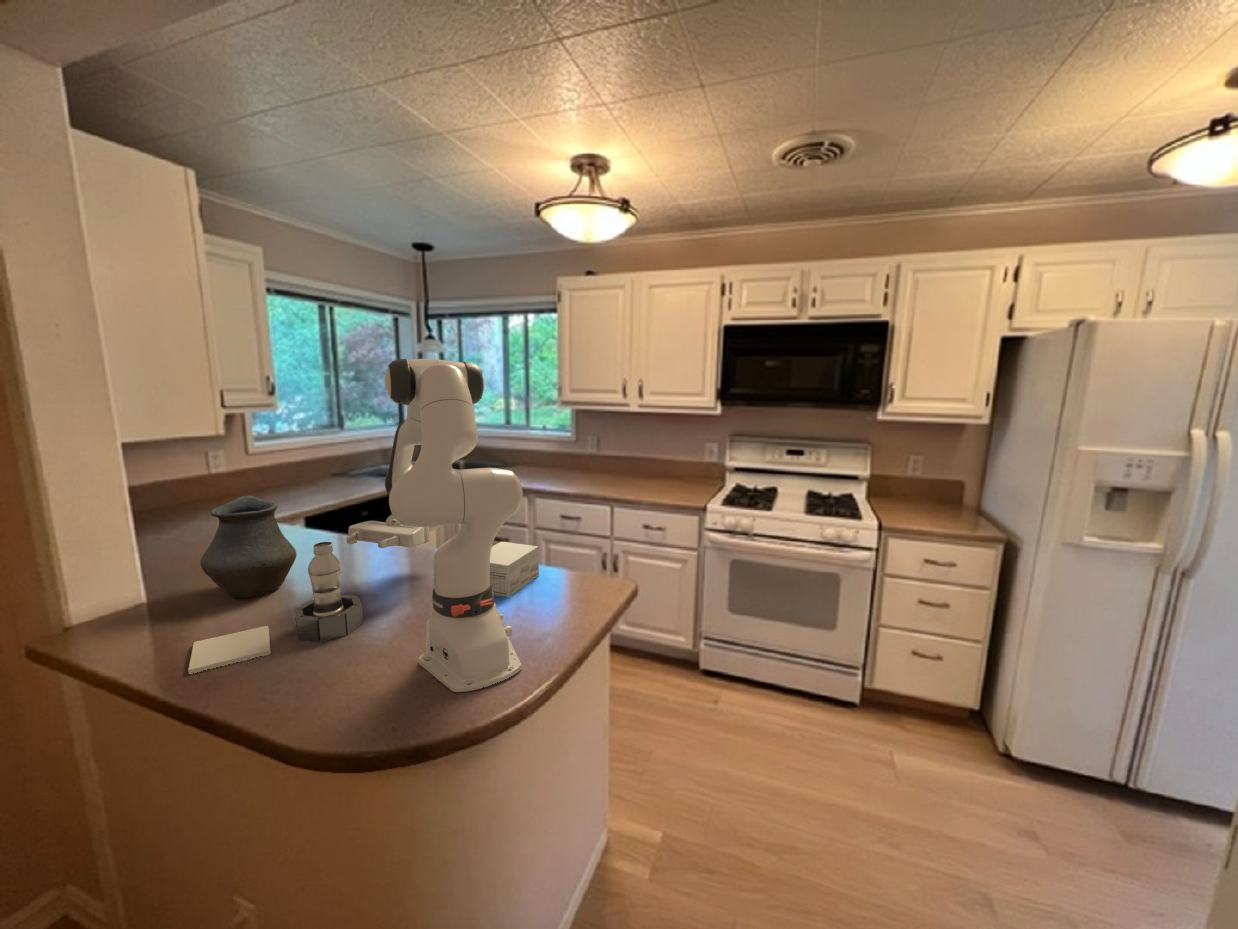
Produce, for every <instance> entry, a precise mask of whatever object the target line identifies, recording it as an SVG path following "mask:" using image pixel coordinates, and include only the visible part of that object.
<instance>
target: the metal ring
mask: <svg viewBox="0 0 1238 929" xmlns="http://www.w3.org/2000/svg"><path fill="white" fill-rule="evenodd" d="M341 599H342V604H343V607H344V610H345V611H343V612H341V613H337V614H332V615H328V616H324V617H313V610H314V598H313V599H310V600H308V601H306V602H305V603H303V604H302V605H300V606H298V607H296V608H295V609H293V612H294V615H293V616H294V625H295V626H294V627H295V634H296V638H297V640H298V641H308V642H315V643H319V642H325V641H329V640H332V639H338V638H340V637H345V636H347V635H350V634H351V633H353V632H354V631H355V630H356V629H358V628H359V627H361V626H362V625H363V624H364V623H363V622H364V620H363V619H364V618H363V608H362V607H363V606H362V602H361V600H360V598H359V596H358V595H350V594H341Z"/></svg>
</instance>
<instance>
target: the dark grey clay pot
mask: <svg viewBox="0 0 1238 929" xmlns="http://www.w3.org/2000/svg"><path fill="white" fill-rule="evenodd" d="M277 509H278V503H277V501H276V502H275V501H273V500H264V499H261V498H258V497H257V496H254V495H244V496H239V497H237V498H235V499H233V500H231V501H229V502H227V503H225V504H222V505H220V506H218V507H214V508H213V509H211V510H210V515H211V517H215V518H217V519H218V526H217V529H216V532H215V534H214V537H213V540H212V541H211V543H210V544H209V546H208V547H207V548H206V550H205V551H204V553H203V554H202V556H201V558H200V561H199V562H200V563H199V564H200V567H201V570H202V571H203V573H204V574H206V576H208V577H209V578H210V579H211V580H212V582H214V583H215V584H216V585H217V586H218V587H219V588H220V589H222V590H224V592H226V593H227V594H228V595H229V596H231V598H233V599H235V600H243V599H249V598H253V597H258V596H261V595H264V594H268V593H270V592H273V591H275V590H276V589H278V588H279V587H281V586H282V585H283V584H284V583H285V581H286V579H287V577H288V574H289V572H290V571H291V570H292V568H293V565H294V563H295V561H296V559H297V550H296V548H295V547H294V546H293V544H292V543H291V542H290V541H289V540H288V539H287V538H286V537H285V535H284V534H283V532H282V530H281V528H280V526H279V524H278V521H277V519H276V516H275V512H276V510H277Z"/></svg>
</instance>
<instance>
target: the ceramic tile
mask: <svg viewBox="0 0 1238 929" xmlns="http://www.w3.org/2000/svg"><path fill="white" fill-rule="evenodd" d="M270 640H271V639H270V630H269V625H265V626H264V625H263V626H261V627H260V626H259V627H255V628H250V629H247V630H242V631H238V632H237V631H236V632H233V633H229V634H224V635H219V636H215V637H211V638H206V639H202V640H196V641H194V642H193V646H192V649H191V654H190V660H189V665H188V670H187V671H188V675H189V674H190V675H193V673H194V674H196V673H197V672H198V673H201V671H202V672H204V671H203V670H206V671H208V670H207V669H210V670H214V669H217V668H216V667H218V668H221V667H220V666H222V667H225V665H226V666H229V665H228V664H230V665H233V663H234V664H237V663H236V662H238V663H242V662H246V661H249V659H250V660H252V658H254V659H256V658H255V657H258V658H260V657H259V656H262V657H265V656H266V657H267V656H269V655H271V654H272V653H271V641H270ZM241 661H242V662H241ZM213 668H214V669H213ZM198 673H197V674H198Z"/></svg>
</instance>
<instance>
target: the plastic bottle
mask: <svg viewBox="0 0 1238 929" xmlns="http://www.w3.org/2000/svg"><path fill="white" fill-rule="evenodd" d="M333 551H334V548H333V542H332V541H322V542H317V543H316V542H315V544H313V555H314V557H313V558H312V559H311V561H310V562H309V564H308V566H307V573H308V576H309V579H310V584H311V589H312V595H313V599H314V610H313V617H324V616H328V615H332V614H337V613H341V612H343V611H345V610H344V607H343V604H342V599H341V595H342V594H341V587H340V586H341V568H342V565H341V564H342V563H341V562H340V560H339V558H338V556H336V555H335V554H334V553H333Z"/></svg>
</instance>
